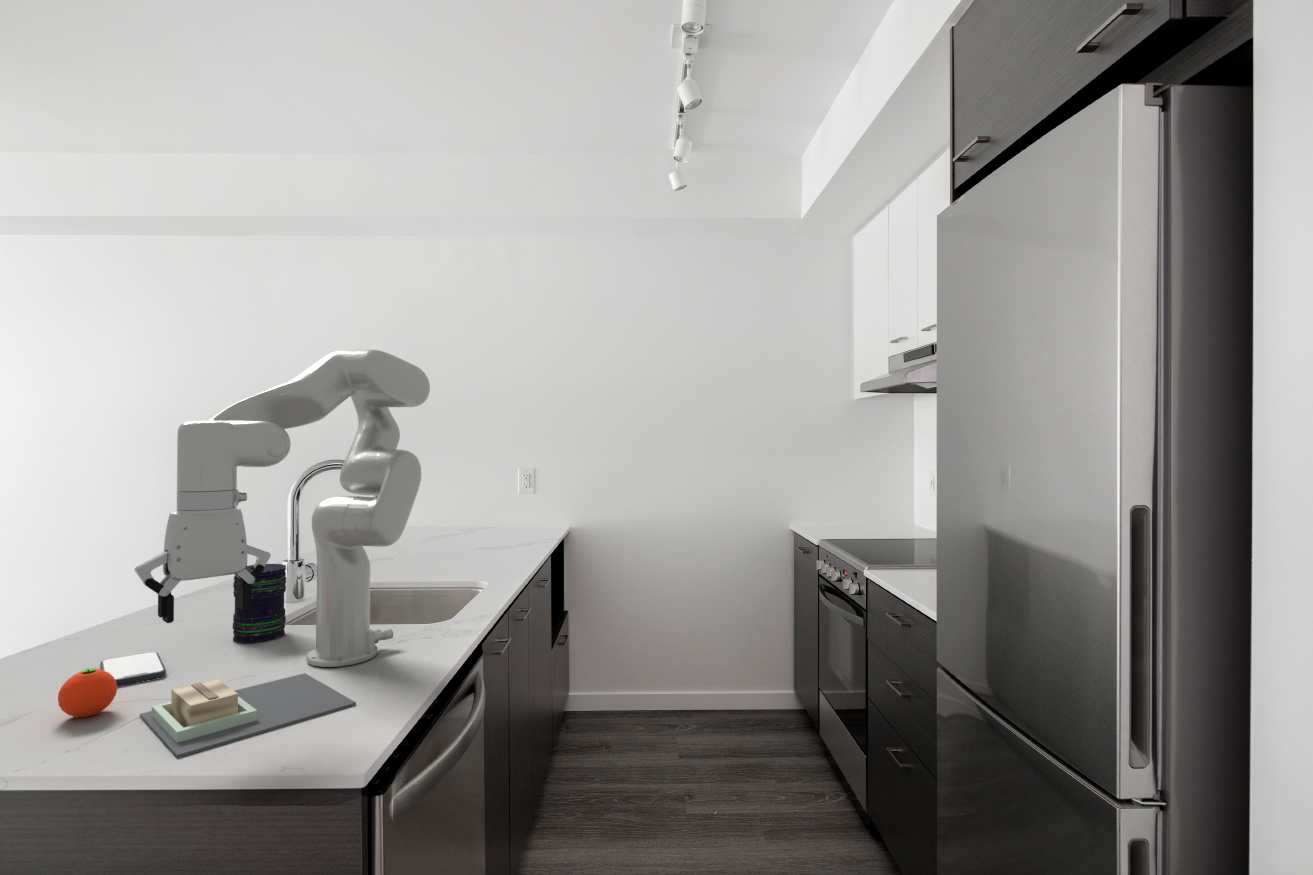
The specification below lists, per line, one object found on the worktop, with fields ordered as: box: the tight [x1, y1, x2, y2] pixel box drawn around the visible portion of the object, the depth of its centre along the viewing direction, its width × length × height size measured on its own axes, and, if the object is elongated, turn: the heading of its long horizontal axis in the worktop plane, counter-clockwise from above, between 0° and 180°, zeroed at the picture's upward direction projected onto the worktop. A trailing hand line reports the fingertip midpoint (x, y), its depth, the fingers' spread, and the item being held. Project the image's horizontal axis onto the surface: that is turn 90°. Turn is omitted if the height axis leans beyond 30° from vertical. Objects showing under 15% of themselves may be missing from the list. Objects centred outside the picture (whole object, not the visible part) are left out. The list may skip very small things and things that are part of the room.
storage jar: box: [232, 563, 287, 645], centre depth 142 cm, size 10×10×15 cm
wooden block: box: [170, 678, 238, 727], centre depth 99 cm, size 10×6×4 cm, turn 50°
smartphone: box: [99, 651, 167, 687], centre depth 120 cm, size 9×2×16 cm
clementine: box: [57, 667, 118, 718], centre depth 101 cm, size 8×7×7 cm
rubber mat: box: [139, 672, 357, 759], centre depth 103 cm, size 24×20×1 cm
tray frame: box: [151, 696, 257, 743], centre depth 99 cm, size 10×14×2 cm
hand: (206, 614), depth 100 cm, fingers open, 9 cm apart
